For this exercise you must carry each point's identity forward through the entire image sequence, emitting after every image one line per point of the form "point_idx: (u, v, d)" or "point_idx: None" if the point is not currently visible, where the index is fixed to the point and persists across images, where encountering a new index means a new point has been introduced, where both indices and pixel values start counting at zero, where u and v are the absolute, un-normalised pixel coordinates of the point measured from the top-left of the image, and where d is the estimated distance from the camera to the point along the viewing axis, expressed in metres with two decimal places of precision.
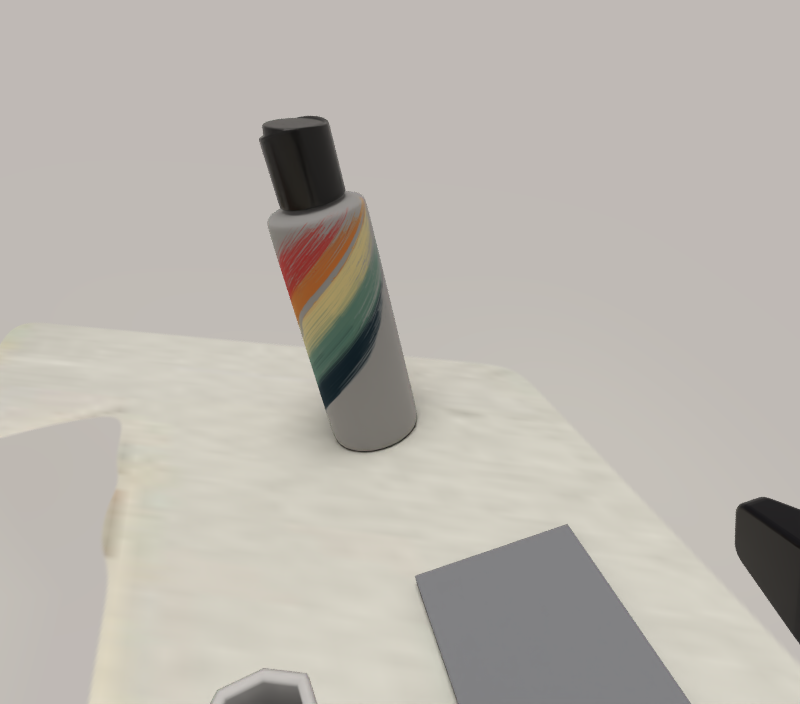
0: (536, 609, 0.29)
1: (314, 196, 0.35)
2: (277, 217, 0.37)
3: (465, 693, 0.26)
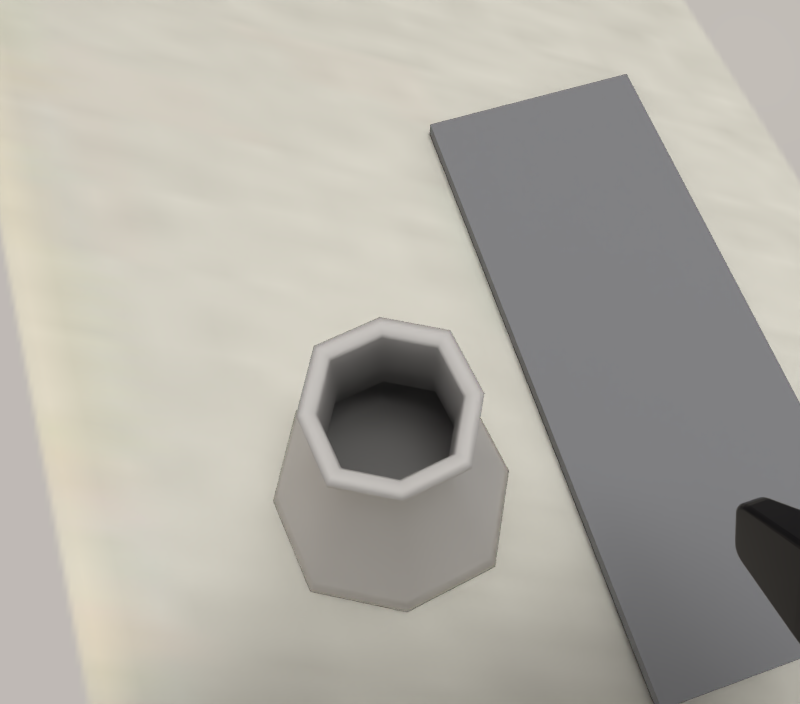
0: (585, 184, 0.24)
1: None
2: None
3: (502, 277, 0.22)
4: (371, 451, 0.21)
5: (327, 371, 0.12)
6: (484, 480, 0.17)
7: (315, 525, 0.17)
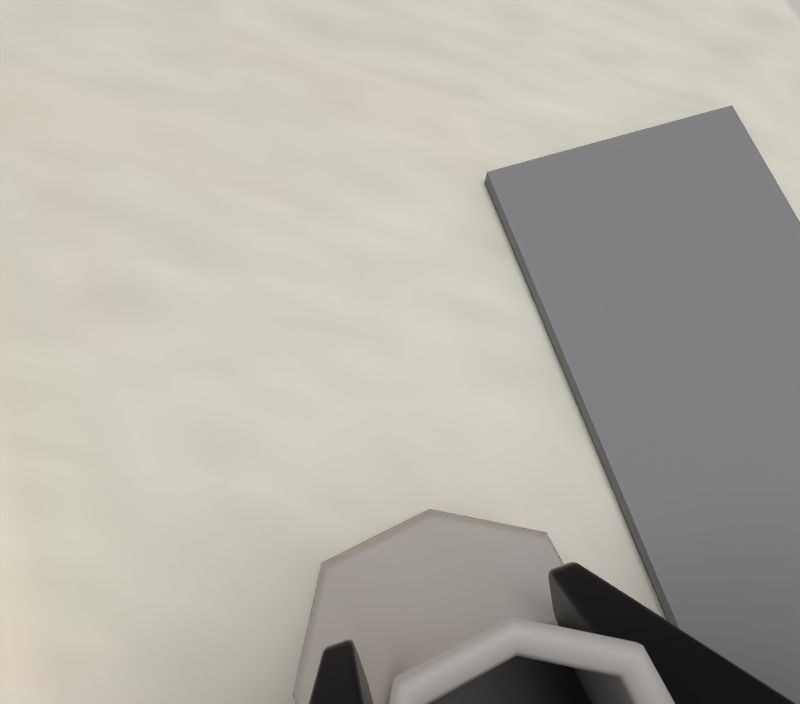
0: (688, 250, 0.18)
1: None
2: None
3: (588, 377, 0.17)
4: None
5: None
6: None
7: None
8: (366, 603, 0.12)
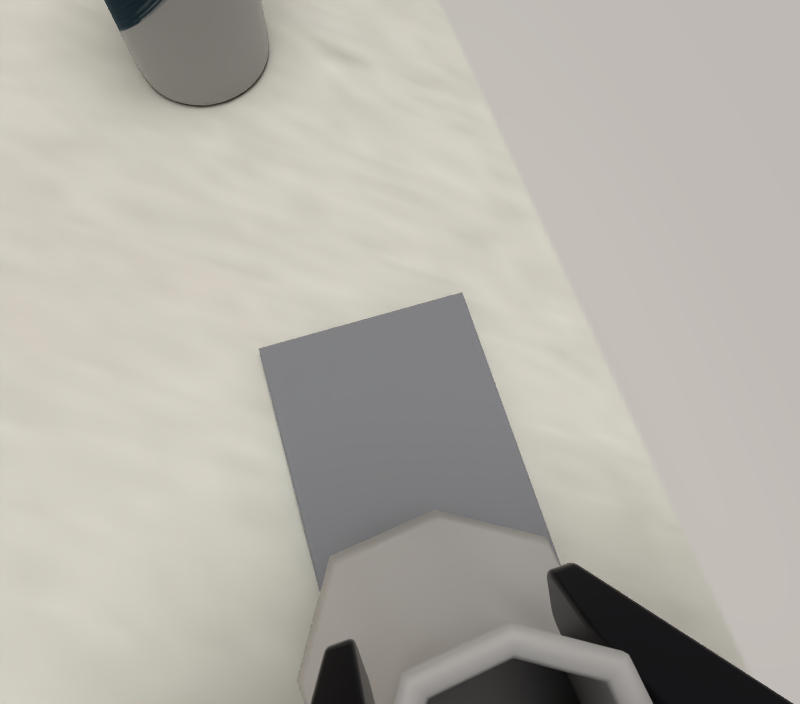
0: (408, 417, 0.24)
1: None
2: None
3: (314, 523, 0.22)
4: None
5: None
6: None
7: None
8: (372, 598, 0.13)
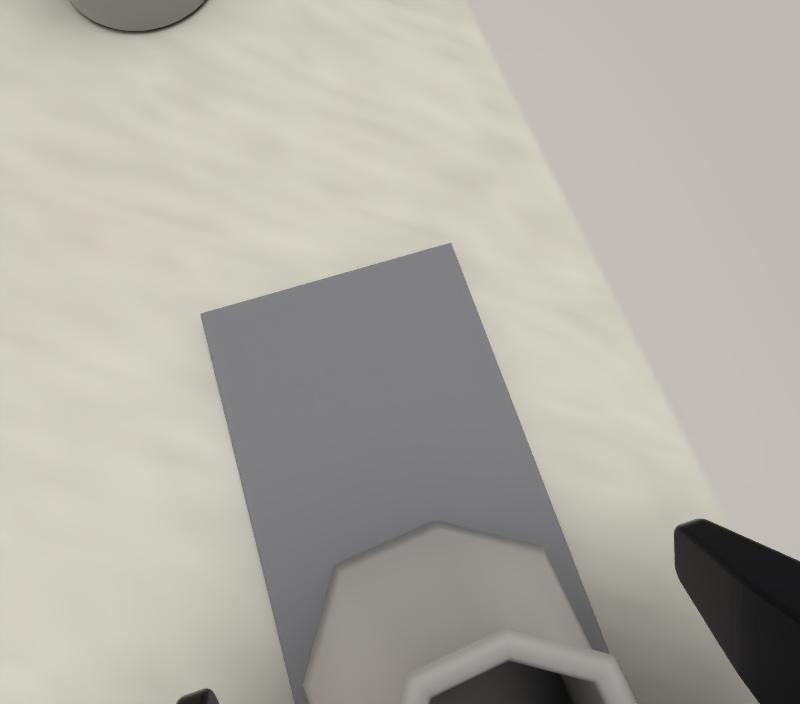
0: (385, 395, 0.19)
1: None
2: None
3: (267, 528, 0.18)
4: None
5: None
6: None
7: None
8: (375, 606, 0.13)
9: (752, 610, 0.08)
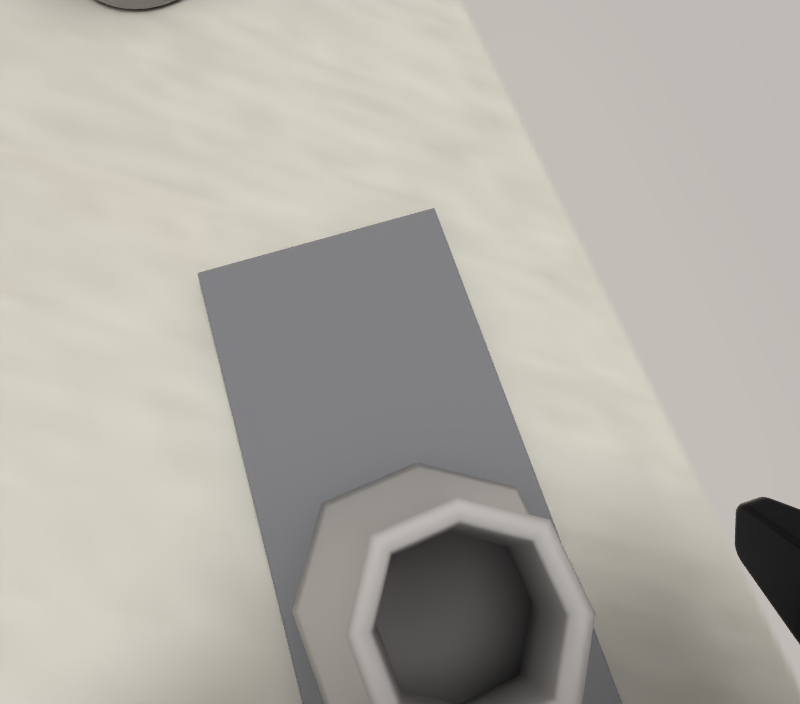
0: (371, 349, 0.20)
1: None
2: None
3: (259, 470, 0.19)
4: (406, 555, 0.18)
5: (387, 569, 0.09)
6: None
7: (344, 672, 0.14)
8: (356, 525, 0.15)
9: None
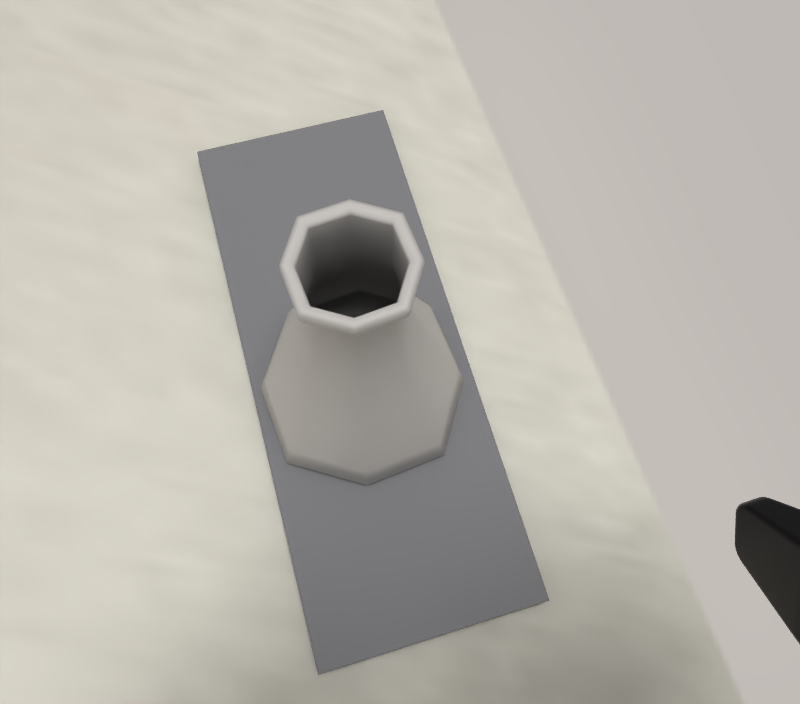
0: None
1: None
2: None
3: (240, 293, 0.25)
4: None
5: (305, 236, 0.15)
6: (437, 371, 0.21)
7: (293, 394, 0.20)
8: None
9: None
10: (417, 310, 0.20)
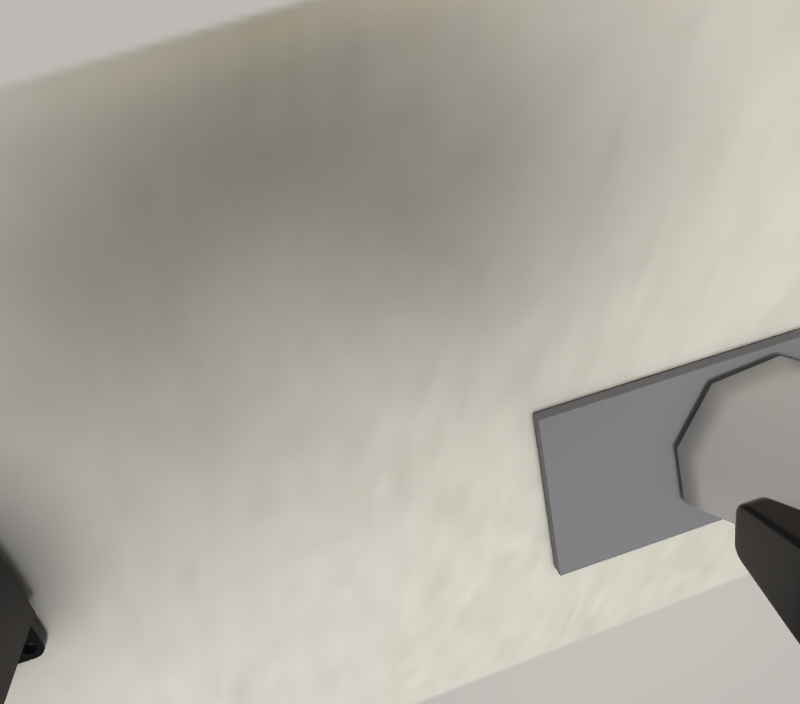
0: None
1: None
2: None
3: None
4: None
5: None
6: None
7: None
8: None
9: None
10: None
